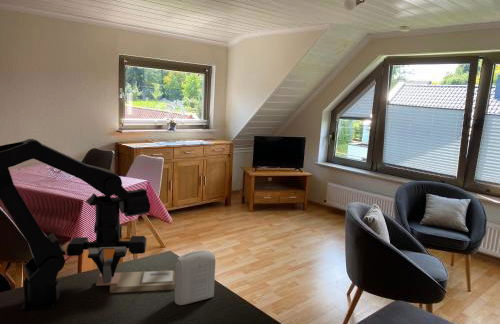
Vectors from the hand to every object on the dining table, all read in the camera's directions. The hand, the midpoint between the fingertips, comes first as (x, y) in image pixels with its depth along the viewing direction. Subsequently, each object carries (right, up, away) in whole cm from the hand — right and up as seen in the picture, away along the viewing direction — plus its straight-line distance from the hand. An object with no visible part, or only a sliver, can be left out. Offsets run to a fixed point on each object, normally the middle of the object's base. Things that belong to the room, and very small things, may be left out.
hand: (108, 276), depth 99 cm
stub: (0, -1, 0) cm, 1 cm away
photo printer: (+23, -5, -4) cm, 24 cm away
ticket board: (+9, -3, +2) cm, 9 cm away
